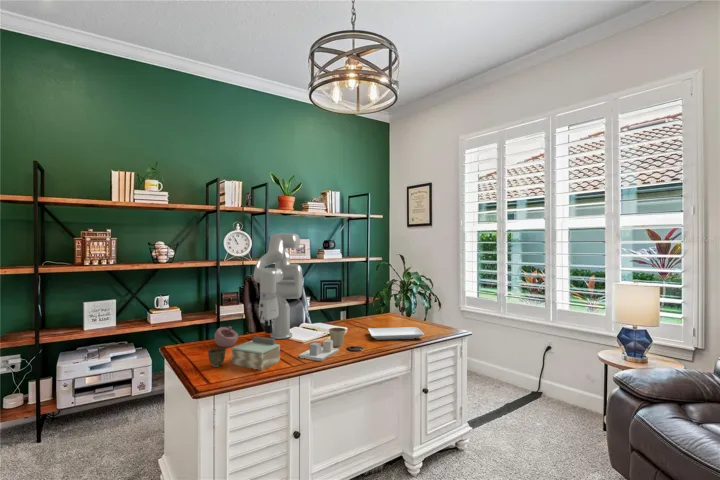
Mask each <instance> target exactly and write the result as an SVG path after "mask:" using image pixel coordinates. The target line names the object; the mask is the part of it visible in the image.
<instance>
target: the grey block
mask: <svg viewBox="0 0 720 480" xmlns="http://www.w3.org/2000/svg"><path fill="white" fill-rule="evenodd" d="M321 346H322V343H319V342H315V341H314V342H312V343H309V349H310V355H316V356H317V355H319V354H321Z"/></svg>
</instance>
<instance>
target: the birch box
mask: <svg viewBox="0 0 720 480" xmlns="http://www.w3.org/2000/svg"><path fill="white" fill-rule="evenodd" d="M231 350H232V351H231V365H234V366H239V367H244V368H248V369H251V368H253V369H252V370H256V369H258V370H257V371H261V370H262V371H264V370H266V369H268V368H271V367H272V366H274V365H276V364H278V363H280V362H281V346H280V347H277V348H275V349H273V350H270V351H268V352H265V353H263V354H258V353H252V352H246V351H239V350H233V349H231ZM267 367H268V368H267ZM265 368H266V369H265ZM263 369H264V370H263Z"/></svg>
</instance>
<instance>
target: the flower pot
mask: <svg viewBox="0 0 720 480" xmlns="http://www.w3.org/2000/svg"><path fill="white" fill-rule="evenodd" d="M346 330H347V329H346V328H344V327H331V328H328V332H329V337H330V340H333V348H335V347H336V348H337V347H340V348H341V347H342V346H344V338H345V333H346Z"/></svg>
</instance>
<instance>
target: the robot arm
mask: <svg viewBox="0 0 720 480" xmlns="http://www.w3.org/2000/svg"><path fill="white" fill-rule="evenodd" d="M300 244H301V238H300V235H298V234H297V233H292V232H291V233H286V232H284V233H282V232H281V233H280V232H279V233H275V234H273V235H271V236H270V238H269V245H268V249H267V250H268V251H267V252H266V253H265V254H264V255H262V256H261V257H260V258H259V259H257V262H256V264H255V266H254V270H253V280H254V282H256V283H258V284H259V287H260V291H259V293H260V294H259V295H260V297H259V298H260V299H259V305H258V319H259V320H260V323H261V324H263V325H264V333H265V334H270V337H269V338H271V339H275V340H285V339H289V337H290V338H291V336H292V337H293V333H292V332H290V331H291V330H290V329H291V328H290V327H291V325H290V324H291V322H290V321H291V318H290V317H291V315H290V313H291V312H290V311H291V310H290V309H291V306H290V303H289V301H287V299H288V300H290V299H291V300H292V299H293V300H294V299H296V300H298V299H300V298H301V297H302V294H303V270H302V269H303V268H302V266H301V265H300V264H298V263H290V262H291V261H290V260H291V259H290V258H291V256H290V254H289V252H288V251H287V250H286V249H298V248H299V247H300ZM273 264H274V267H268V266H270V265H273ZM282 281H287V282H282ZM288 281H290V282H288ZM291 281H292V282H291Z"/></svg>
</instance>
